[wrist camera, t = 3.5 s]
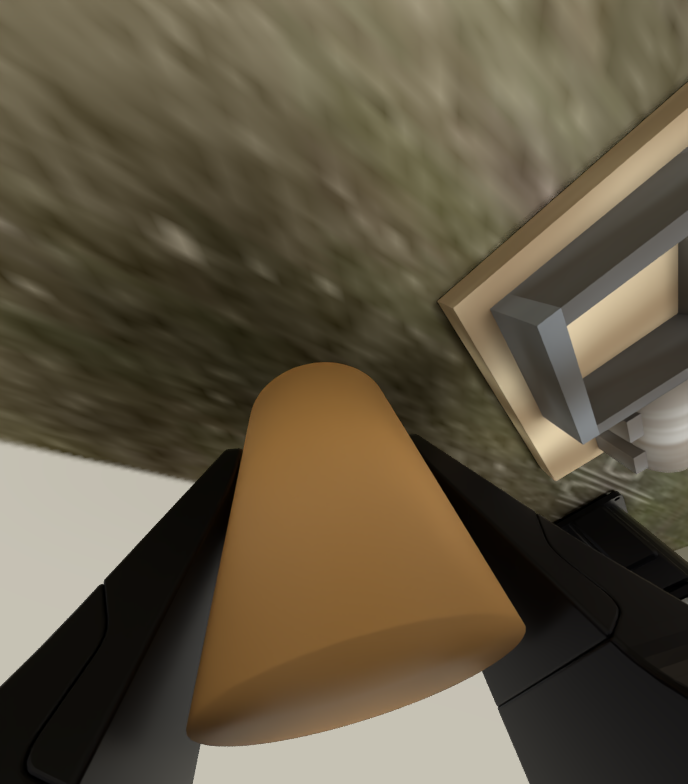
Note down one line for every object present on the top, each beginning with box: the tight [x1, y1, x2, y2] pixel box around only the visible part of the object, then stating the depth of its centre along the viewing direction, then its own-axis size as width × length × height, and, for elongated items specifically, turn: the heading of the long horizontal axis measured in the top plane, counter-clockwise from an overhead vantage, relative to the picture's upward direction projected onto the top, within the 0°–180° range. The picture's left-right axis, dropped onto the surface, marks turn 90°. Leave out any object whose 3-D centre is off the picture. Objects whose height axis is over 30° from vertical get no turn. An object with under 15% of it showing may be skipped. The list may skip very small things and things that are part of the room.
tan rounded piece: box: [186, 362, 526, 746], centre depth 6 cm, size 5×5×6 cm
